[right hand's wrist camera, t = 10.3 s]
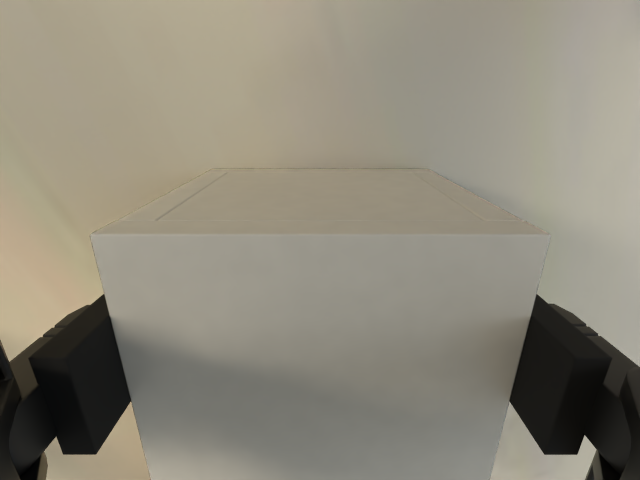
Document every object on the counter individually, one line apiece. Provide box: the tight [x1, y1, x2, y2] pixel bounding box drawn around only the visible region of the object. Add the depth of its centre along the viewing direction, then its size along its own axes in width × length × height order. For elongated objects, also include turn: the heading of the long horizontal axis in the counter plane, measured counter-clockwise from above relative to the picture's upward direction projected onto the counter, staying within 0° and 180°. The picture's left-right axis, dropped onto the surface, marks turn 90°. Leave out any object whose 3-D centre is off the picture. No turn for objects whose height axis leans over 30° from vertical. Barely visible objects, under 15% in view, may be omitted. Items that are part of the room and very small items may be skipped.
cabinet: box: [90, 169, 551, 480], centre depth 16 cm, size 22×10×9 cm, turn 0°
